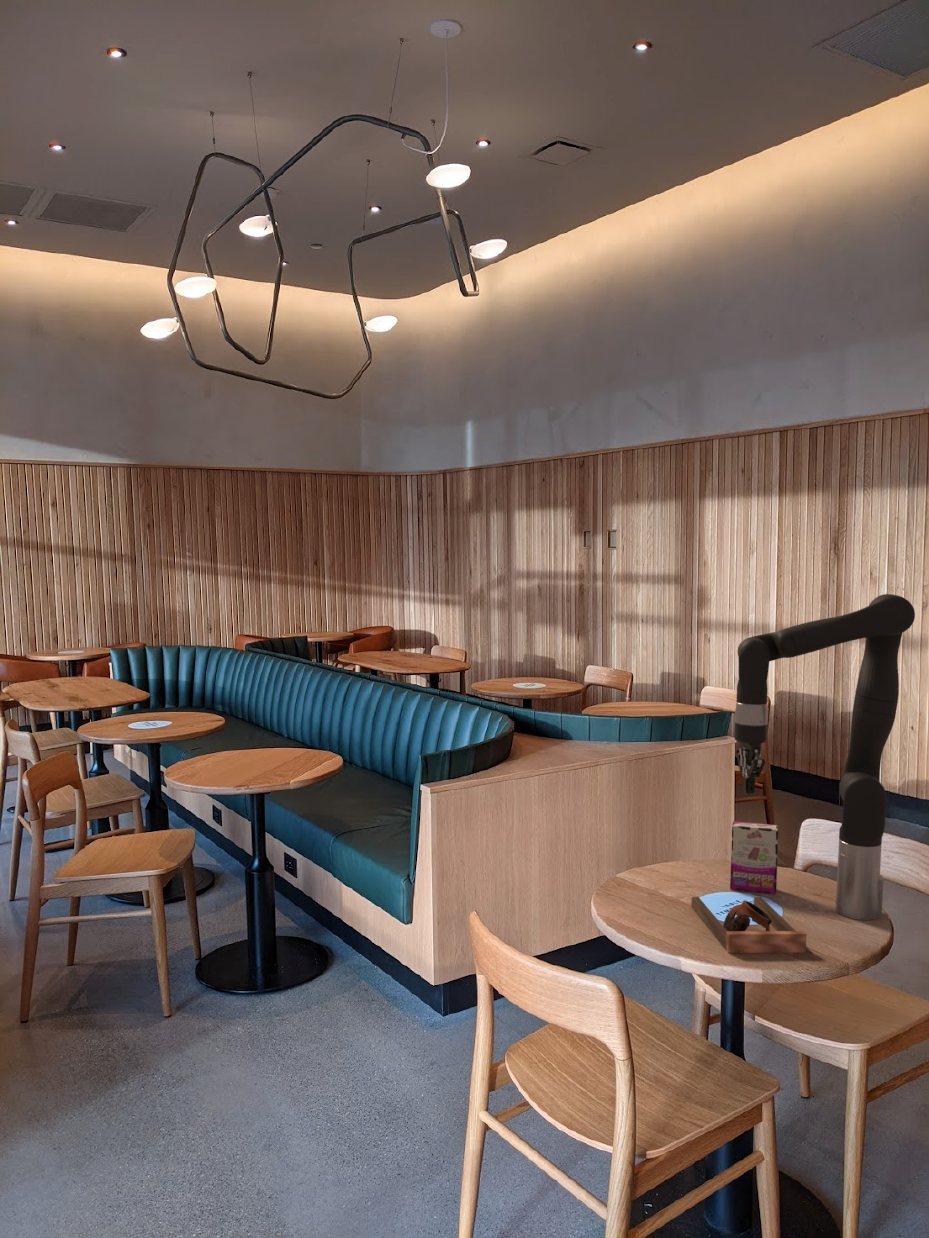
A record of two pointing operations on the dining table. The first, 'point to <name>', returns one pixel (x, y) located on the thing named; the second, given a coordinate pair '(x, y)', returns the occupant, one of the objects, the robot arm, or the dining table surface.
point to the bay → (754, 932)
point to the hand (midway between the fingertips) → (748, 792)
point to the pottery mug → (746, 917)
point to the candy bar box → (754, 857)
